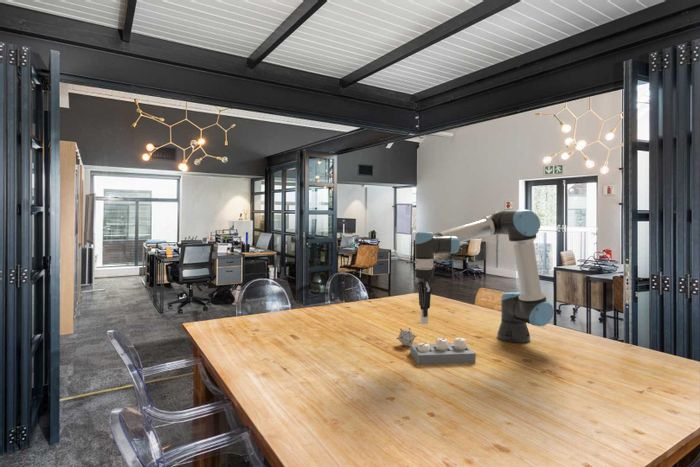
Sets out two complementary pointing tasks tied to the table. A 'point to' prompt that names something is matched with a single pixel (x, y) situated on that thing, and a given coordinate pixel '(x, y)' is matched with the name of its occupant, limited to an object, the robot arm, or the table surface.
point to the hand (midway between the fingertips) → (424, 323)
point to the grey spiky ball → (406, 337)
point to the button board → (442, 355)
